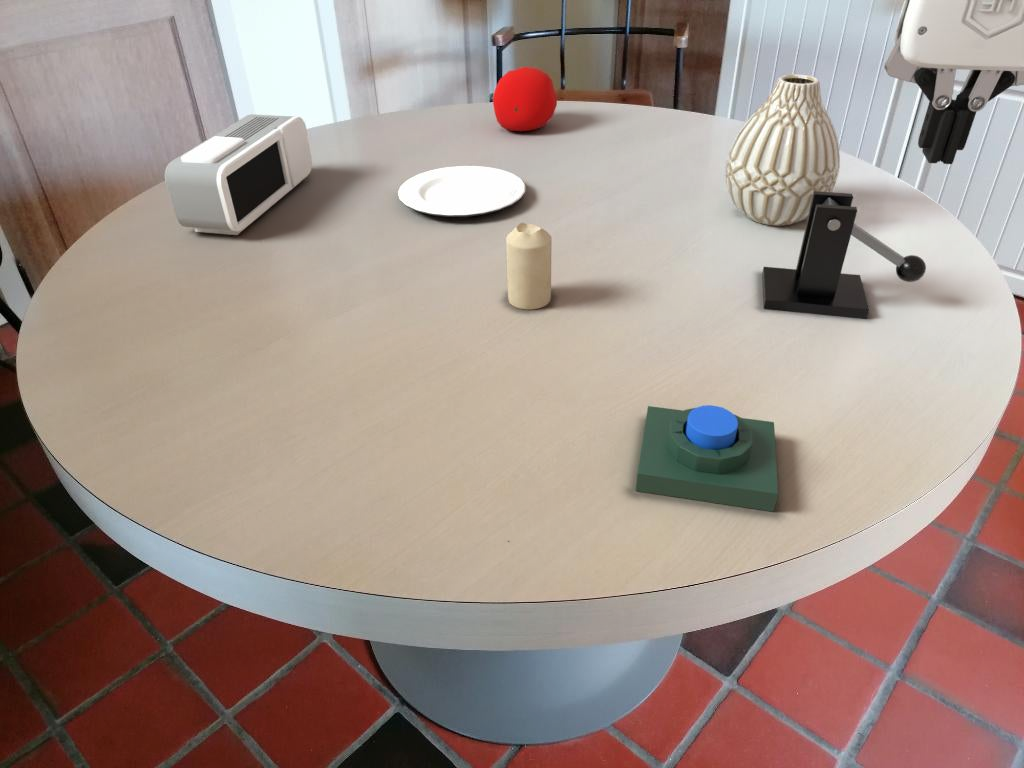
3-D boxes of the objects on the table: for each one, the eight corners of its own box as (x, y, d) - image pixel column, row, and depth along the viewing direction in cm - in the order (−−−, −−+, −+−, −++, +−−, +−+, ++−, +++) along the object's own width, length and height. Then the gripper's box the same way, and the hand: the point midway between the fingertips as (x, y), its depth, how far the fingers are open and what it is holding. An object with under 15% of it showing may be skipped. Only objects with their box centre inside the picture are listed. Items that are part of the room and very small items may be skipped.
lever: (908, 279, 93) (929, 260, 91) (912, 291, 90) (934, 272, 88) (811, 213, 91) (830, 192, 89) (813, 224, 89) (833, 203, 87)
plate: (533, 177, 130) (533, 167, 129) (516, 228, 114) (515, 216, 113) (416, 173, 133) (415, 163, 132) (383, 222, 117) (381, 211, 116)
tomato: (519, 154, 149) (546, 136, 159) (553, 103, 140) (579, 86, 150) (470, 112, 149) (500, 96, 159) (501, 58, 140) (530, 45, 150)
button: (735, 423, 70) (738, 408, 69) (735, 454, 66) (738, 438, 65) (687, 417, 71) (689, 402, 70) (684, 447, 67) (686, 432, 66)
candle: (558, 295, 97) (560, 223, 91) (536, 314, 93) (536, 240, 87) (522, 284, 100) (521, 214, 94) (499, 303, 96) (497, 230, 90)
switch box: (769, 439, 73) (777, 406, 71) (773, 512, 66) (782, 478, 63) (646, 422, 76) (649, 391, 73) (635, 491, 68) (638, 458, 66)
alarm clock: (237, 243, 112) (217, 165, 105) (181, 239, 113) (158, 161, 106) (315, 177, 133) (303, 108, 126) (267, 173, 135) (252, 105, 128)
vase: (850, 221, 113) (886, 83, 101) (771, 246, 107) (800, 101, 95) (772, 187, 125) (797, 59, 113) (697, 207, 119) (715, 74, 107)
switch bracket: (857, 283, 98) (884, 189, 90) (866, 318, 91) (896, 219, 83) (761, 275, 100) (780, 182, 93) (763, 308, 93) (783, 211, 86)
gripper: (909, -120, 47) (840, 168, 57) (1187, -124, 44) (1059, 182, 54) (890, -126, 52) (830, 137, 63) (1134, -130, 49) (1027, 147, 60)
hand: (936, 157), depth 59 cm, fingers closed
